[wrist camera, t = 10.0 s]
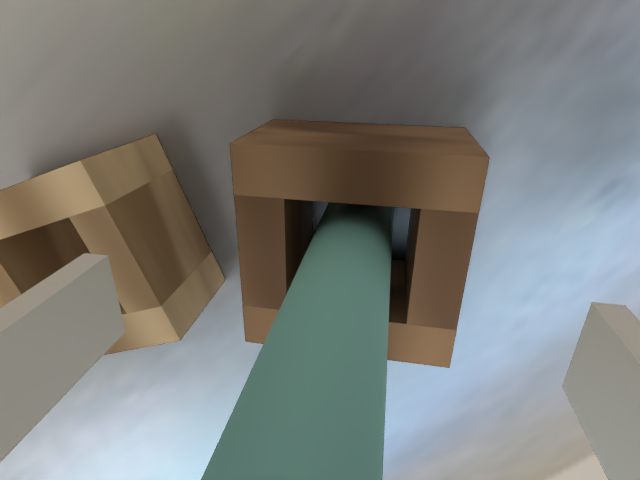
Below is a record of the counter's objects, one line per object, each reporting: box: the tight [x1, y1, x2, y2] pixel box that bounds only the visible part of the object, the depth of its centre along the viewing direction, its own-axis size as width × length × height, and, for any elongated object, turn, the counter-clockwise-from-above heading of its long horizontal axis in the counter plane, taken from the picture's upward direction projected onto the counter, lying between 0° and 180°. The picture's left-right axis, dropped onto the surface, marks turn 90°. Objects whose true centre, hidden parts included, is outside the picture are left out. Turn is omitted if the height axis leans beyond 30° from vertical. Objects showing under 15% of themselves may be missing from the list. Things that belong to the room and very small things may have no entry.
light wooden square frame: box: [0, 134, 225, 355], centre depth 19 cm, size 8×8×5 cm
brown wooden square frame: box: [230, 120, 490, 368], centre depth 17 cm, size 8×8×5 cm
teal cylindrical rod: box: [201, 202, 393, 480], centre depth 13 cm, size 3×3×14 cm
